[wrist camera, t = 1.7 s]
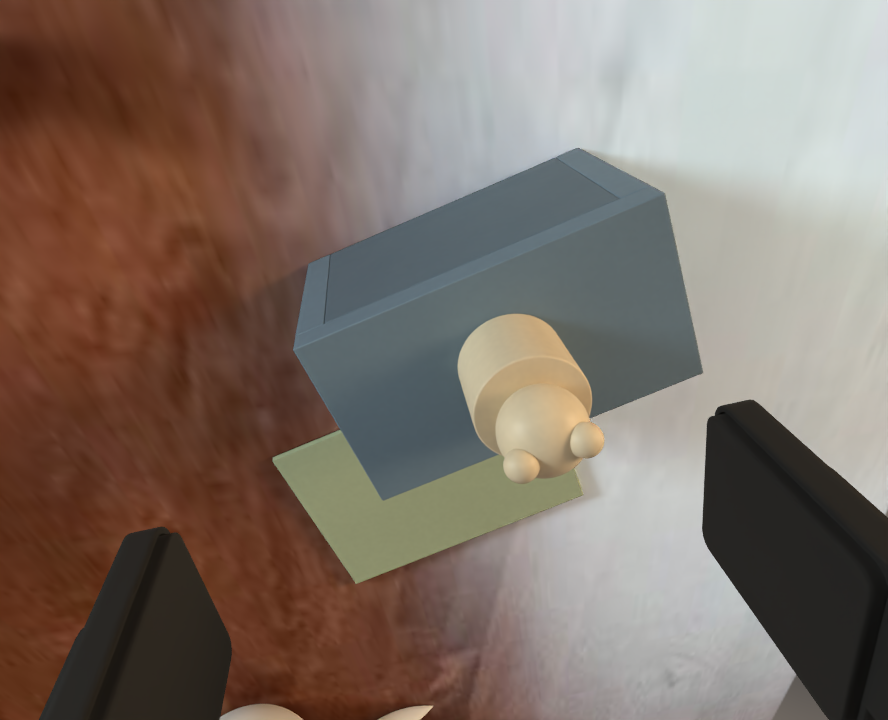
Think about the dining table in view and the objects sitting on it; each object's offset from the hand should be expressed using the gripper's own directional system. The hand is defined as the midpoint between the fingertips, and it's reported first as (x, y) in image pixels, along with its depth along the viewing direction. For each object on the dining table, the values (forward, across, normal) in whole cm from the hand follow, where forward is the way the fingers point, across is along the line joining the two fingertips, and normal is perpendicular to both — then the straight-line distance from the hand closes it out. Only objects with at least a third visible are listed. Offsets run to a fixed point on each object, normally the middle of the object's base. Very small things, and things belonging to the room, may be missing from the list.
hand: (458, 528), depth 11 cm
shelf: (+30, -4, +7) cm, 31 cm away
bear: (+18, -4, +7) cm, 20 cm away
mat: (+30, 0, +22) cm, 38 cm away
